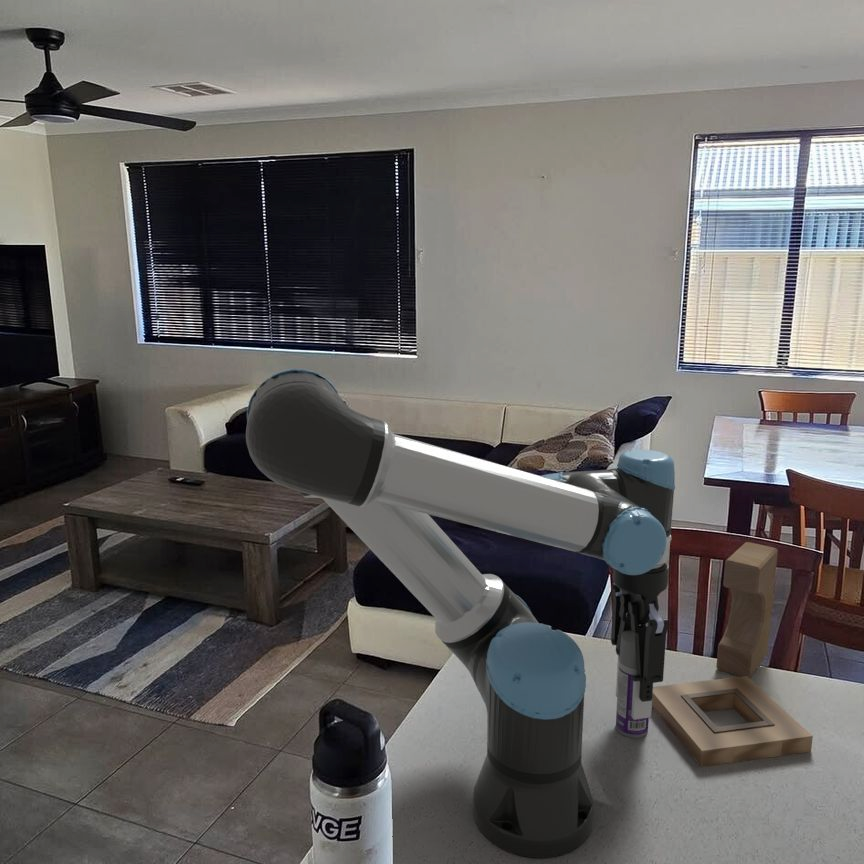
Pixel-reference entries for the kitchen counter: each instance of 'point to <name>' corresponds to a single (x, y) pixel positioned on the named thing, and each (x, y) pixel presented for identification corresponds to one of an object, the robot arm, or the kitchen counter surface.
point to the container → (628, 689)
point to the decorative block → (748, 608)
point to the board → (733, 743)
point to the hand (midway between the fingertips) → (633, 706)
